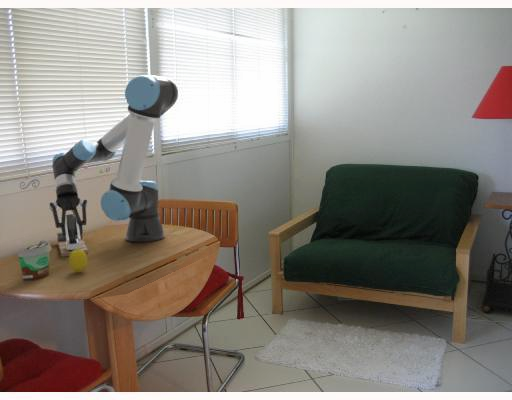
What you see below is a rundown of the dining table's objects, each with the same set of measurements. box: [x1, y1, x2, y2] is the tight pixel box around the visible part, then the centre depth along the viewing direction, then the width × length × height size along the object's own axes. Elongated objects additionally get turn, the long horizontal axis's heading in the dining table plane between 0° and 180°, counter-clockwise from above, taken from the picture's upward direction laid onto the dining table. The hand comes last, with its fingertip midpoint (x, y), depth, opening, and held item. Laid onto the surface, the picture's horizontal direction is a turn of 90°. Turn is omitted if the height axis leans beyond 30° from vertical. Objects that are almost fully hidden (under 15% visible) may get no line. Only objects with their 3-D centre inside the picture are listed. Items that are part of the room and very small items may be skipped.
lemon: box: [68, 248, 88, 273], centre depth 172 cm, size 6×6×8 cm
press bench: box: [56, 231, 89, 258], centre depth 202 cm, size 20×9×4 cm, turn 23°
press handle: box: [65, 213, 81, 250], centre depth 195 cm, size 5×5×12 cm
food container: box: [17, 240, 52, 282], centre depth 169 cm, size 12×6×10 cm, turn 168°
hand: (73, 241), depth 192 cm, fingers closed on press handle, 3 cm apart
